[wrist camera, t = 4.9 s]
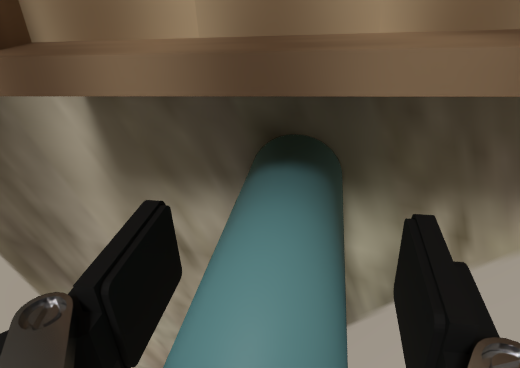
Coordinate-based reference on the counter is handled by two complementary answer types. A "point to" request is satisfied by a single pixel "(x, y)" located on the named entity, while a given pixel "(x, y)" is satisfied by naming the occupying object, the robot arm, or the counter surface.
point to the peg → (275, 269)
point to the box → (260, 48)
